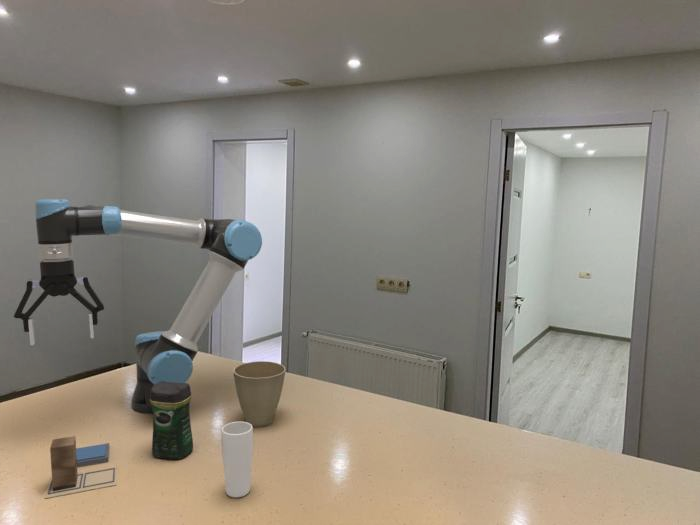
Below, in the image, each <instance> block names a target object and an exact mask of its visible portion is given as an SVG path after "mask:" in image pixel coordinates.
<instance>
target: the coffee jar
mask: <svg viewBox="0 0 700 525" xmlns="http://www.w3.org/2000/svg"><path fill="white" fill-rule="evenodd" d="M191 400H192V390H191V385H190V384H189V383H187V382H186V383H175V382H165V381H160V382H158V383H156V384H155V385H153V386H152V388H151V394H150V403H151V405H152V409H153V413H152V420H153V421H152V422H153V424H152V440H151V441H152V443H151V445H152V446H151V453H152V455H153V456H154V457H156V458H160V459H165V460H178V459H182V458H184V457H187V456H188V455H190V453H192V451H193V449H194V440H193V433H192V426H191V425H192V423H191V417H190V416H191V415H190V403H191Z"/></svg>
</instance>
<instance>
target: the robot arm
mask: <svg viewBox="0 0 700 525" xmlns="http://www.w3.org/2000/svg"><path fill="white" fill-rule="evenodd" d="M34 205H35V223H36V225H35V226H36V233H37V234H36V235H37V244H38V245H37V246H38V257H39V260H41V261H40V262H39V270H40V272H39V273H40V280H33V279H28V280H27V282H26V287H25V288H26V290H25V292H24V294H23V295H22V298H21V300H20V302H19V304H18V306H17V308H16V310H15V313H14V314H13V318H14V319H19V320H20V319H21V320H22V325H23V331H24V333H28V334H29V343H30V344H29V345H30V346H34V345H35V343H36V339H35V338H36V337H35V327H34V326H35V325H34V317H31V316H32V314H34V312H36V311H37V308H38V307H39V306H40V305H41V304H42V303H43V301H45V299H46V298H48V296H50V297H52V298H55V297H58V296H60V297H61V296H63V297H65V296H68V295H71V296H72V297H74V298H75V299H76V300H77V301H78V302H79V303H80V304H82V305H83V306H84V307H85V309H87V310H89V312H88V321H89V334H90V335H89V336H90V339H94V338H95V332H94V326H96V325H98V322H99V320H98V313H99V312H100V311H103V310H105V304H104V303H103V302H102V300H101V299H100V298H99V296H98V294H97V293H96V292H95V290H94V289H93V287H92V286H91V284H90V281H89V277H88V275H84V276H82V277H76V274H75V265H74V264H75V263H74V260H73V259H72V258H74V251H73V249H74V248H73V247H74V246H73V240H72V238H73V236H76V237H78V236H109V235H111V236H112V235H113V236H119V237H120V236H121V237H128V238H129V237H130V238H139V239H145V240H146V239H147V240H156V241H163V242H170V243H171V242H172V243H178V244H188V245H194V246H195V247H196V248H197V249H201V250H202V249H204V250H208V256H209V261H208V262H207V264H206V266H205V267H204V269H203V271H202V273H201V275H200V276H199V278H198V279H197V281H196V284H195V285H194V287H193V289H192V290H191V292H190V293H189V295H188V297H187V299H186V301H185V302H184V304H183V306H182V308H181V310H180V311H179V314H178V315H177V316H176V318H175V320H174V322H173V324H172V326H171V327H170V329H169V330H159V331H158V330H157V331H151V332H144V333H140V334H138V335H136V337H135V343H134V346H135V360H136V363H135V364H136V384H135V388H134V391H133V393H132V394H133V395H132V398H131V408H132V409H133V410H134V411H135V412H139V413H145V414H146V413H148V414H150V413H152V414H153V409H152V405H151V403H150V394H151V388H152V386H153V385H155V384H156V383H158V382H160V381H165V382H175V383H187V381H189V380H190V378H191V377H192V373H193V370H194V369H193V368H194V365H193V361H194V359H195V357H196V355H197V353H198V352H199V348H198V345H197V343H198V341H199V339H200V338H201V337H202V334H203V332H204V331H205V329H206V326H208V323H209V321H210V319H211V318H212V316H213V314H214V313H215V310H216V309H217V307H218V305H219V303H220V302H221V299H222V298H223V297H224V294H225V293H226V292H227V289H228V287H229V286H230V284H231V281H232V280H233V278H234V276H235V275H236V273H238V272H241V271H243V270H244V269H245V267H246V265H247V264H248V262H249V260H252V259H254V258H255V257H256V256H258V254H259V253H260V251H261V250H262V246H263V245H262V244H263V237H262V234H261V231H260V229H259V228H258V227H257V226H256V225H254V224H253V223H252V222H251V221H250V222H249V221H247V220H245V219H231V218H227V219H226V218H224V219H223V218H221V219H211V218H210V219H209V218H202V217H201V218H199V219H198V220H194V219H186V218H181V217H180V218H179V217H173V216H166V215H160V214H159V215H158V214H152V213H145V212H144V213H143V212H137V211H130V210H123V209H120V207H118V206H111V205H104V206H101V205H99V206H96V205H90V204H88V205H84V206H71V205H70V201H69V200H68V199H63V198H61V199H60V198H59V199H53V198H52V199H47V198H46V199H45V198H44V199H38V200H37V201H36V202H35V204H34ZM77 283H78V284H80V286H83V287H84V289H85V290H86V292H87V293H88V295H89V296H90V298H91V299H92V300H93V303H95V306H94V305H93V304H92V303H91V302H90V301H89V300H88V299H86V297H84V296H83V295H82V294H81V292H79V291H78V290H77V289H76V288H75V286H76V285H77ZM38 286H40V288H41V289H43V292H42V293H41V294H40V295H39V297H37V299H36V300H35V301H34V302H33V304H32V305H31V306H30V307H29V308H28V309H27V311H26V312H24V313H23V311H24V308H25V307H26V305H27V302H28V300H29V298H30V296H31V294H32V292H33V290H35V289H37V287H38Z"/></svg>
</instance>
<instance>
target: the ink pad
mask: <svg viewBox="0 0 700 525" xmlns="http://www.w3.org/2000/svg"><path fill="white" fill-rule="evenodd" d="M110 448H111V447H110V443H109V442H108V443H107V442H106V443H101V444H97V445H89V446H84V447H76V456H77V468H81V467H88V466H92V465H93V466H94V465H99V464H105V463H109V460H110V458H109V457H110Z"/></svg>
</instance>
